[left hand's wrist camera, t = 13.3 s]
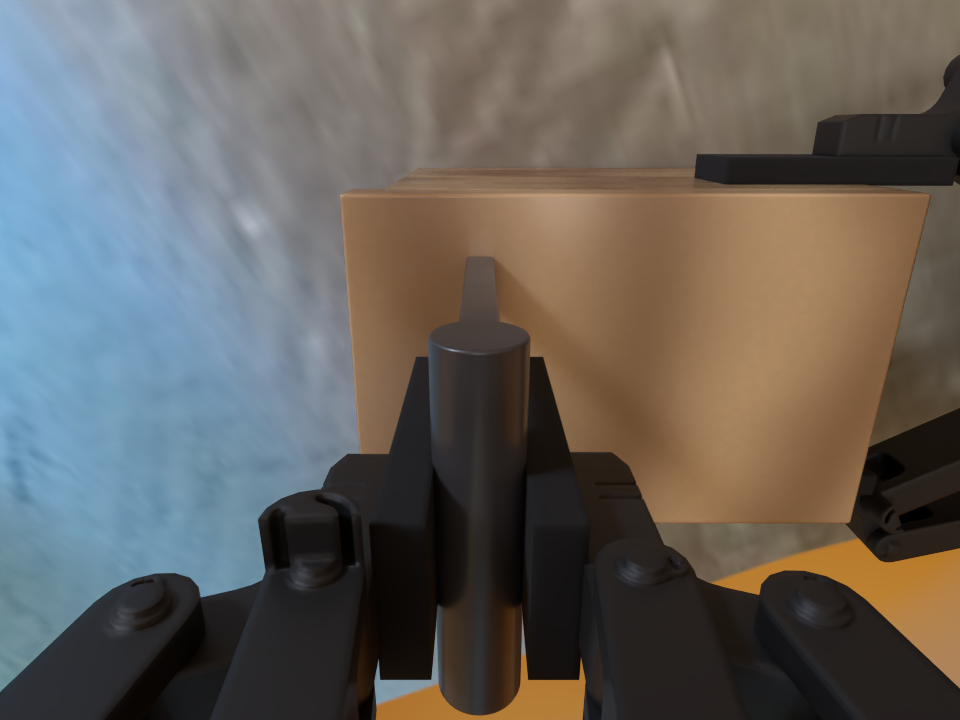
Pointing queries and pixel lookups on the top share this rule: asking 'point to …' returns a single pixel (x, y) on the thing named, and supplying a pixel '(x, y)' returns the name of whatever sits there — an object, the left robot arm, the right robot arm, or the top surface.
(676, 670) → the left robot arm
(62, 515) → the top surface
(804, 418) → the lid
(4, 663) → the top surface
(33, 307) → the top surface
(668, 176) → the chest
